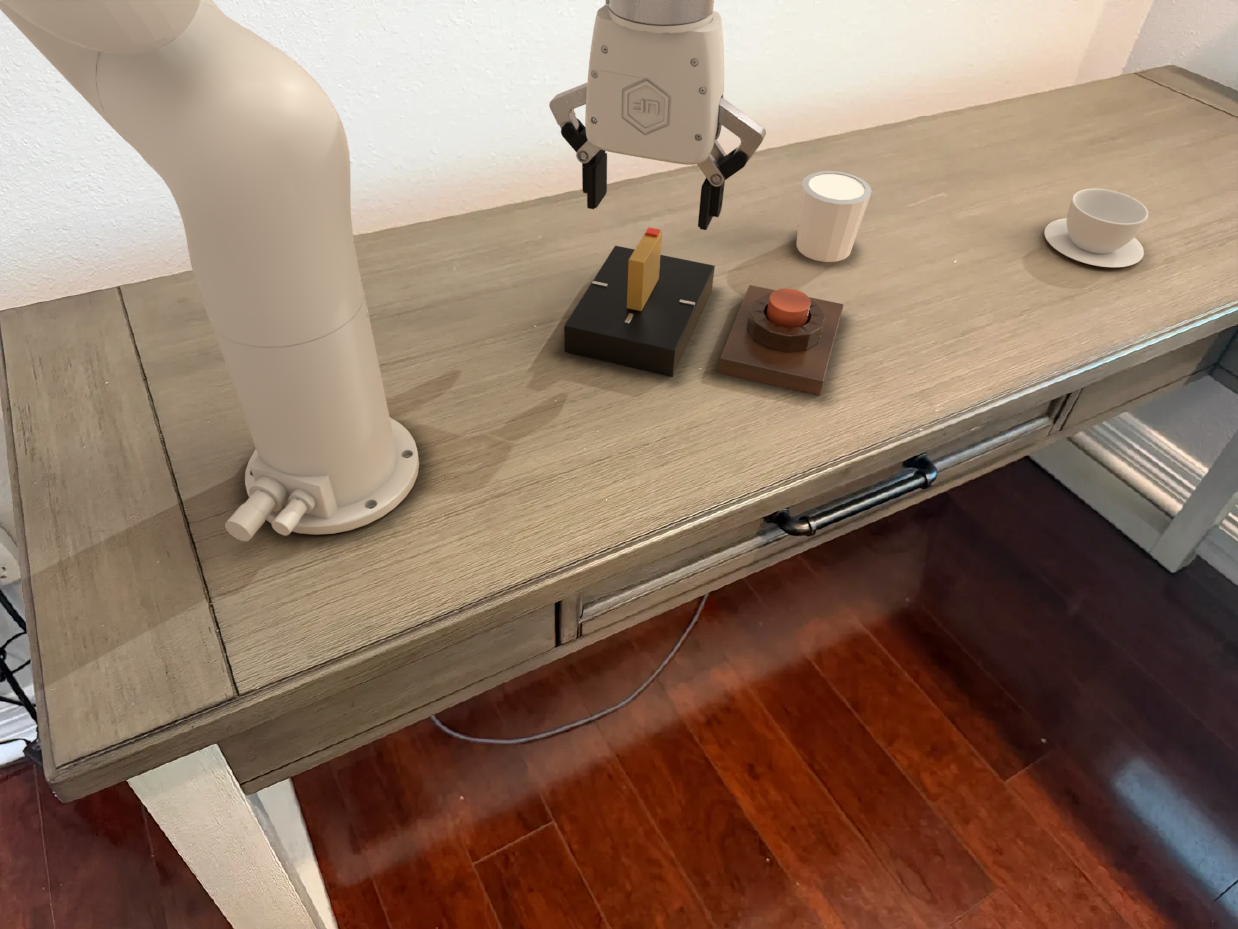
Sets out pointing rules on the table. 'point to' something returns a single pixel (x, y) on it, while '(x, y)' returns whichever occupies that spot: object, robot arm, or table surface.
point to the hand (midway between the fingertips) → (651, 211)
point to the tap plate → (639, 315)
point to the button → (788, 308)
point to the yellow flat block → (644, 269)
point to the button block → (780, 344)
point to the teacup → (1100, 229)
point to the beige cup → (830, 214)
